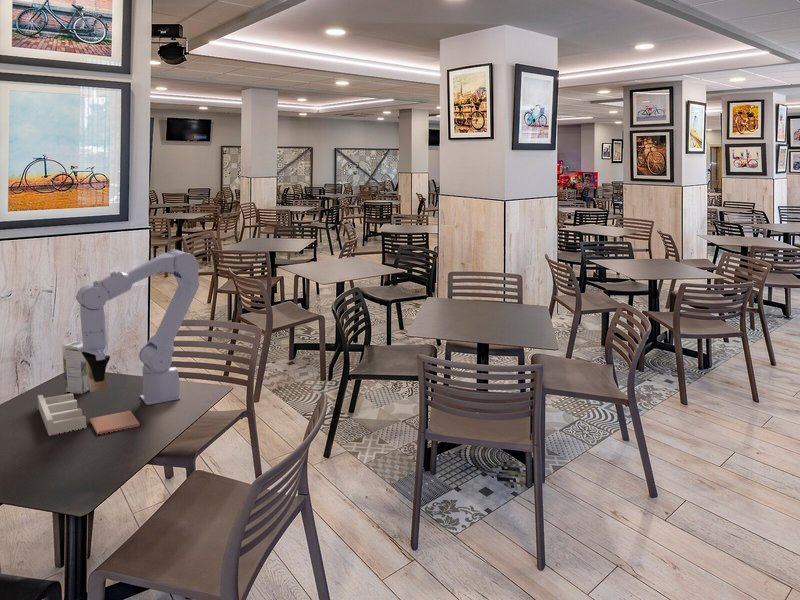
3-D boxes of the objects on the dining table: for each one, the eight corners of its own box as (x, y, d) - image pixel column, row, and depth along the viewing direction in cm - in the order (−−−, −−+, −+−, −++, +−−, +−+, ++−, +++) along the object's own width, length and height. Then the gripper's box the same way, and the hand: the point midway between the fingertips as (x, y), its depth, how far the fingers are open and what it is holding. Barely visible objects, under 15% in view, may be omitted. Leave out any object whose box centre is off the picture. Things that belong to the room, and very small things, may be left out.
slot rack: (73, 403, 165) (72, 389, 164) (86, 427, 150) (85, 413, 149) (38, 409, 160) (37, 395, 159) (48, 435, 145) (47, 420, 144)
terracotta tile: (130, 413, 159) (130, 410, 159) (139, 426, 152) (139, 423, 152) (89, 421, 154) (89, 418, 153) (97, 435, 146) (97, 432, 146)
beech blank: (104, 384, 161) (101, 357, 160) (107, 389, 158) (104, 361, 157) (87, 387, 159) (85, 359, 157) (90, 392, 156) (88, 363, 154)
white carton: (78, 386, 178) (74, 340, 175) (96, 387, 177) (92, 341, 174) (65, 392, 172) (60, 345, 170) (83, 394, 172) (79, 347, 169)
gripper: (72, 326, 159) (76, 373, 162) (81, 338, 147) (85, 389, 150) (100, 323, 163) (104, 369, 166) (112, 335, 152) (115, 384, 154)
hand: (97, 378), depth 158 cm, fingers closed on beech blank, 4 cm apart
